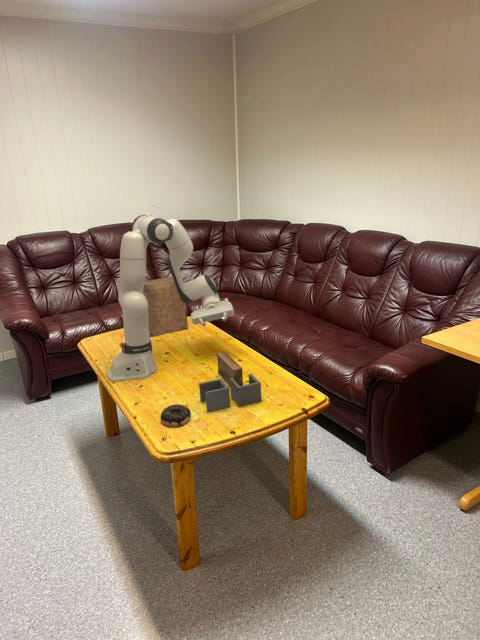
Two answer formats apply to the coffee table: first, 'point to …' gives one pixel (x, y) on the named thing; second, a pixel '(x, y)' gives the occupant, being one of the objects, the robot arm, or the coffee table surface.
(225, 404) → the end cap
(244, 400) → the end cap
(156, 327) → the book
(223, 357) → the slat
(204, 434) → the coffee table surface
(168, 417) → the donut
